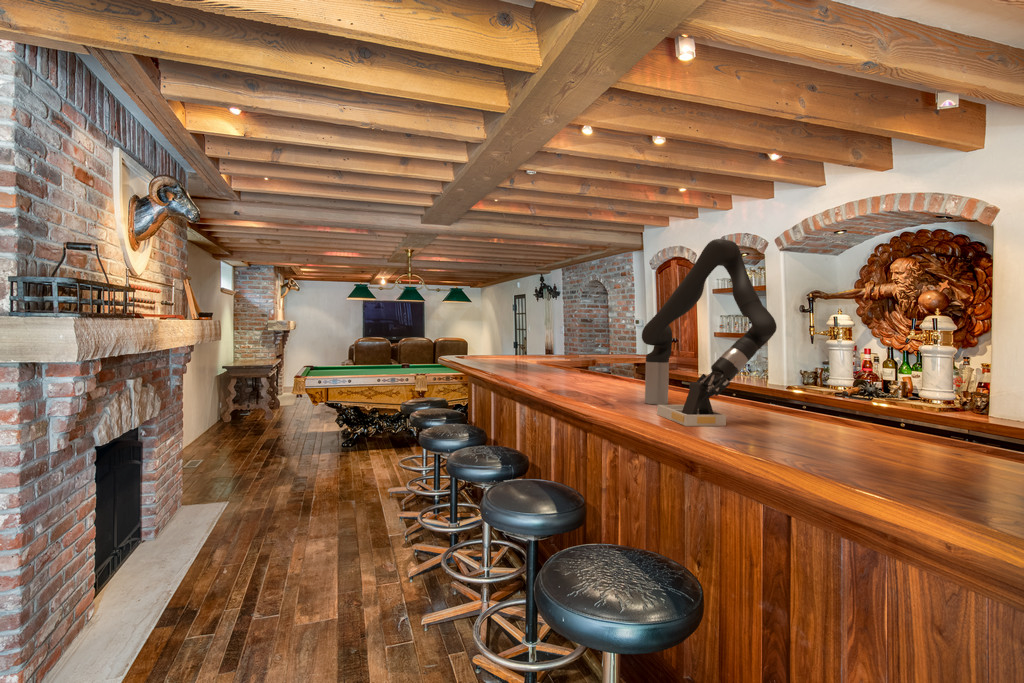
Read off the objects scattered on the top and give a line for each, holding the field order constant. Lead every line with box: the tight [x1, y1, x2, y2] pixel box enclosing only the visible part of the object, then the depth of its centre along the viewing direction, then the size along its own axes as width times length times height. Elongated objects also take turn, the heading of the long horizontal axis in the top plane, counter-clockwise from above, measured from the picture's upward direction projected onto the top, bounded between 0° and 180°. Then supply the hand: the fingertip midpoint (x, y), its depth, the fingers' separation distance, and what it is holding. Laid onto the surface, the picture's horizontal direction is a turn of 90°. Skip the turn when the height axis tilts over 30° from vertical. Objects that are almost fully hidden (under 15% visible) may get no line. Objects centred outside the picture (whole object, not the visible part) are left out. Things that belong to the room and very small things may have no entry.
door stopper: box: [682, 381, 714, 415], centre depth 159 cm, size 9×6×12 cm, turn 101°
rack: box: [656, 404, 727, 427], centre depth 164 cm, size 21×14×4 cm, turn 8°
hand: (695, 400), depth 159 cm, fingers closed on door stopper, 6 cm apart
